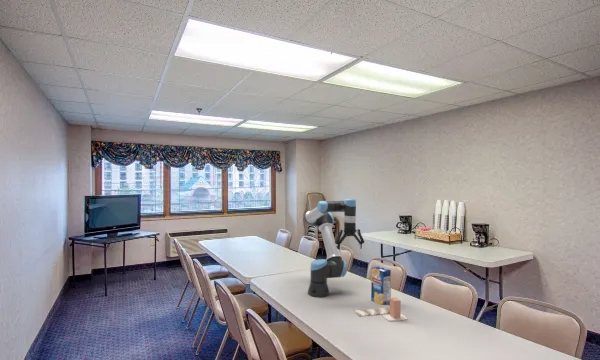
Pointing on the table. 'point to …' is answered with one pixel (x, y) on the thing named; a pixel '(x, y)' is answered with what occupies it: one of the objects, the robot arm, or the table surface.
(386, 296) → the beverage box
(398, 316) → the stub
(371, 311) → the white tray
